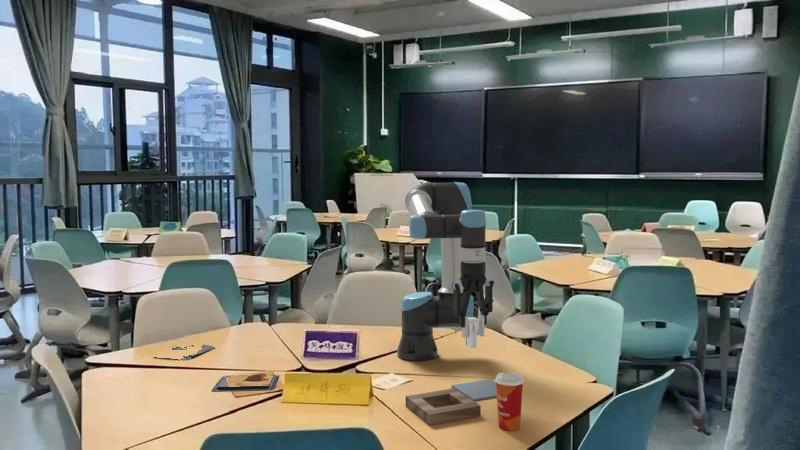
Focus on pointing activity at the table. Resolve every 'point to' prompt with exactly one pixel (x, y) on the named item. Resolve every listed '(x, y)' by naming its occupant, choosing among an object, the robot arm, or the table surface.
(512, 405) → the paper cup
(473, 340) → the milkshake
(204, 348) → the terrain model
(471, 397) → the mat
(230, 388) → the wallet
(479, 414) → the pocket block
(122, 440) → the table surface
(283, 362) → the table surface
